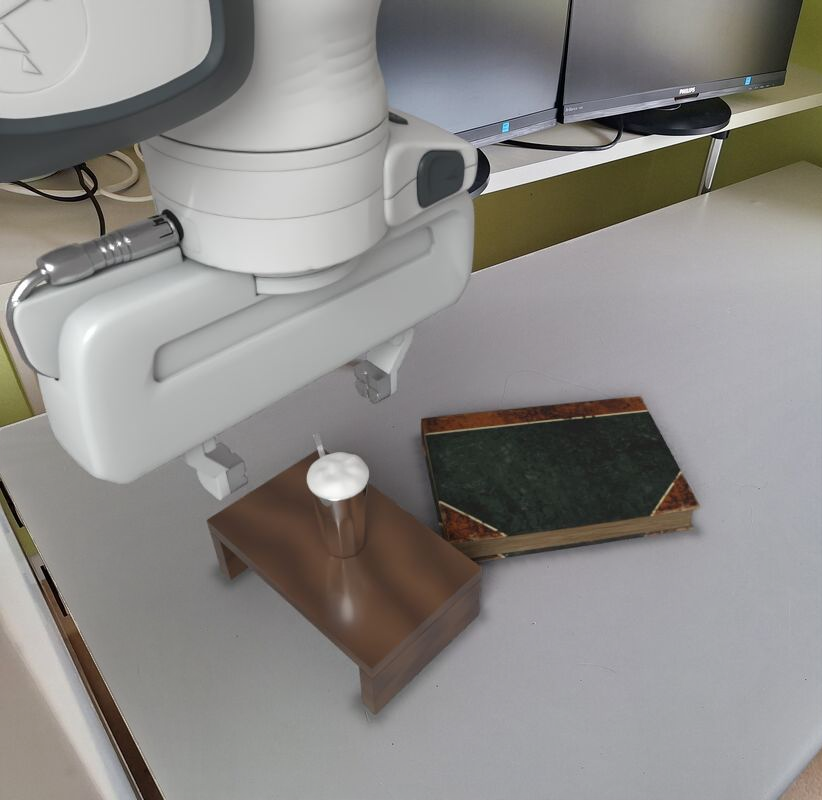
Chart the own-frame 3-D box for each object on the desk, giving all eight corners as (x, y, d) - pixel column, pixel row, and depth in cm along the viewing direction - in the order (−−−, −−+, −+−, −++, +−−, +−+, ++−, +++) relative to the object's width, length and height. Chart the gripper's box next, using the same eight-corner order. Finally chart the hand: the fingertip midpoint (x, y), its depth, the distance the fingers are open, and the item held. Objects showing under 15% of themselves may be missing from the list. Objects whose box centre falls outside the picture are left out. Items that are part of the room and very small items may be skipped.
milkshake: (350, 506, 65) (342, 421, 59) (383, 547, 63) (379, 463, 56) (301, 530, 63) (287, 445, 57) (333, 574, 60) (323, 489, 54)
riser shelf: (375, 715, 59) (371, 668, 55) (220, 570, 68) (205, 519, 63) (478, 616, 67) (482, 567, 62) (327, 496, 75) (321, 446, 71)
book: (446, 568, 70) (693, 530, 76) (447, 543, 68) (702, 507, 74) (419, 437, 83) (634, 415, 89) (419, 413, 80) (639, 391, 86)
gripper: (38, 318, 22) (148, 601, 31) (503, 141, 35) (484, 376, 44) (-62, 234, 24) (66, 517, 33) (405, 99, 37) (406, 329, 46)
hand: (306, 436), depth 38 cm, fingers open, 8 cm apart
